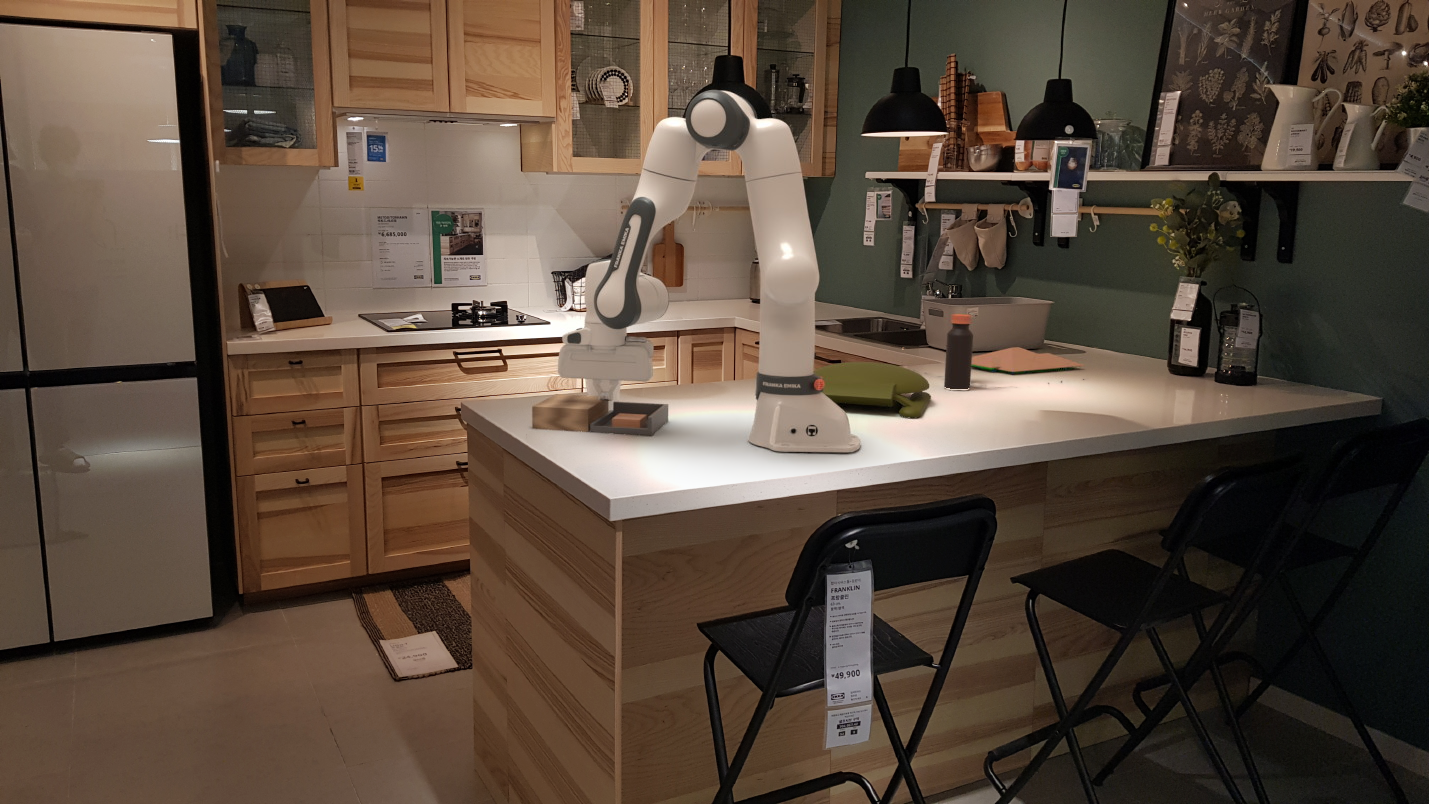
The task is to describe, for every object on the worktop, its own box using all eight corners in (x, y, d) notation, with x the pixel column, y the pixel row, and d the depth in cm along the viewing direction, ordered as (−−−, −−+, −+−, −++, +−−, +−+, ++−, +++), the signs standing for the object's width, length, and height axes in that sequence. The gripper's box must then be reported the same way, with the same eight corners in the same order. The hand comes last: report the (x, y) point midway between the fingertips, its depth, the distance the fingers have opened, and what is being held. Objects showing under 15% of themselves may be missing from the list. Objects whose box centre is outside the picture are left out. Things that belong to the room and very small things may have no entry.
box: (668, 422, 236) (668, 404, 236) (651, 436, 221) (651, 417, 220) (610, 419, 238) (610, 401, 238) (590, 433, 223) (590, 414, 222)
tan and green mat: (947, 372, 323) (949, 345, 322) (1024, 366, 340) (1026, 340, 339) (1005, 383, 304) (1007, 354, 303) (1083, 376, 321) (1085, 349, 320)
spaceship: (920, 421, 246) (922, 378, 244) (788, 411, 254) (789, 370, 252) (934, 397, 279) (936, 359, 277) (816, 389, 287) (818, 352, 286)
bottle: (972, 391, 285) (977, 316, 282) (946, 391, 285) (951, 315, 282) (966, 387, 292) (971, 314, 289) (941, 387, 292) (946, 313, 289)
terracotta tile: (619, 413, 233) (619, 422, 233) (612, 418, 227) (612, 427, 227) (646, 414, 232) (646, 423, 232) (640, 419, 226) (640, 429, 226)
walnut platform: (608, 418, 238) (608, 396, 238) (587, 433, 223) (587, 409, 222) (556, 416, 240) (556, 394, 240) (532, 430, 225) (532, 406, 224)
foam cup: (586, 415, 241) (586, 358, 239) (579, 408, 250) (579, 353, 248) (627, 414, 244) (628, 357, 242) (619, 407, 253) (620, 352, 251)
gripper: (657, 335, 228) (656, 400, 231) (564, 332, 232) (564, 395, 234) (650, 339, 222) (649, 405, 225) (555, 335, 226) (555, 400, 228)
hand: (605, 400), depth 230 cm, fingers closed
